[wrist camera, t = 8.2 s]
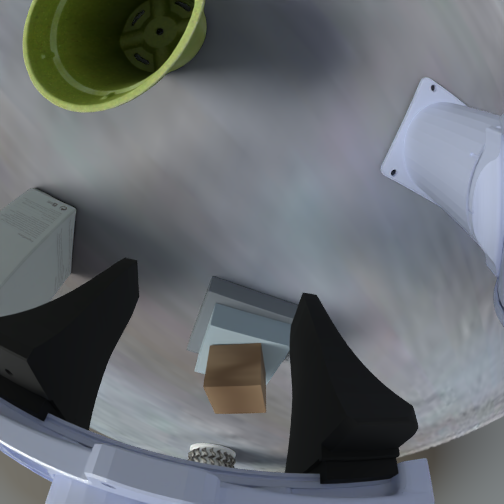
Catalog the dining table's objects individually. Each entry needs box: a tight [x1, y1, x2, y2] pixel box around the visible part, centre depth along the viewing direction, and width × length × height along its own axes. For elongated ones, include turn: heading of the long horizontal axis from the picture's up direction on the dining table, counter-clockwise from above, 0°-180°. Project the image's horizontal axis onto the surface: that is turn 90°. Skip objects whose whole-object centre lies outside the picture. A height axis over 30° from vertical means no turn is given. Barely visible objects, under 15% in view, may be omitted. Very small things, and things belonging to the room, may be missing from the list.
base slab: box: [187, 276, 298, 354], centre depth 27 cm, size 8×8×2 cm
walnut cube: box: [203, 343, 266, 414], centre depth 22 cm, size 4×4×4 cm
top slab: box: [195, 303, 291, 385], centre depth 25 cm, size 6×6×2 cm
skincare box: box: [0, 188, 76, 317], centre depth 18 cm, size 8×6×15 cm
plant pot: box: [23, 0, 207, 112], centre depth 12 cm, size 9×9×9 cm
